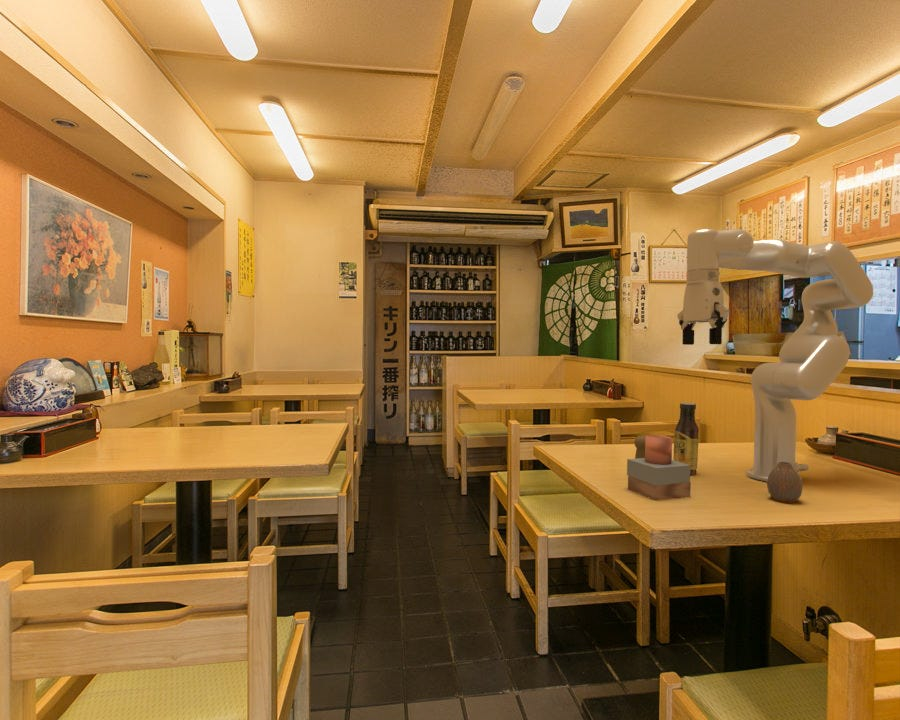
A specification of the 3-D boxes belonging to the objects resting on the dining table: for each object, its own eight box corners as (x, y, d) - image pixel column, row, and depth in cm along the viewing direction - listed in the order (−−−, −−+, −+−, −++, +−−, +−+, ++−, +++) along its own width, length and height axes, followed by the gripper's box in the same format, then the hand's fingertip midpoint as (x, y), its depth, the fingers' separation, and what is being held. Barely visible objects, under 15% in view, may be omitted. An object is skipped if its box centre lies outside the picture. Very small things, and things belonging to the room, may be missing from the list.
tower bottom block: (662, 488, 128) (662, 472, 127) (690, 499, 118) (690, 482, 118) (627, 490, 125) (628, 474, 125) (653, 502, 115) (653, 485, 115)
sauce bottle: (668, 470, 144) (669, 401, 144) (689, 470, 145) (690, 401, 145) (681, 476, 138) (682, 404, 137) (702, 475, 138) (704, 404, 138)
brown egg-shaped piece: (803, 506, 112) (804, 467, 111) (766, 501, 115) (767, 463, 115) (801, 499, 117) (802, 461, 117) (766, 494, 121) (767, 458, 121)
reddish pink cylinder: (659, 458, 125) (660, 434, 125) (677, 463, 120) (678, 438, 120) (639, 459, 123) (640, 435, 123) (656, 464, 118) (657, 439, 118)
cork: (657, 479, 134) (658, 439, 133) (634, 478, 135) (634, 437, 135) (653, 474, 139) (654, 435, 139) (630, 473, 141) (631, 434, 140)
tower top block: (659, 472, 128) (659, 456, 128) (690, 482, 118) (690, 465, 118) (627, 475, 124) (627, 459, 124) (655, 485, 115) (656, 468, 115)
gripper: (741, 274, 122) (739, 344, 122) (691, 283, 139) (690, 344, 139) (715, 272, 120) (714, 343, 121) (668, 282, 137) (666, 344, 138)
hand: (701, 344), depth 130 cm, fingers open, 9 cm apart
